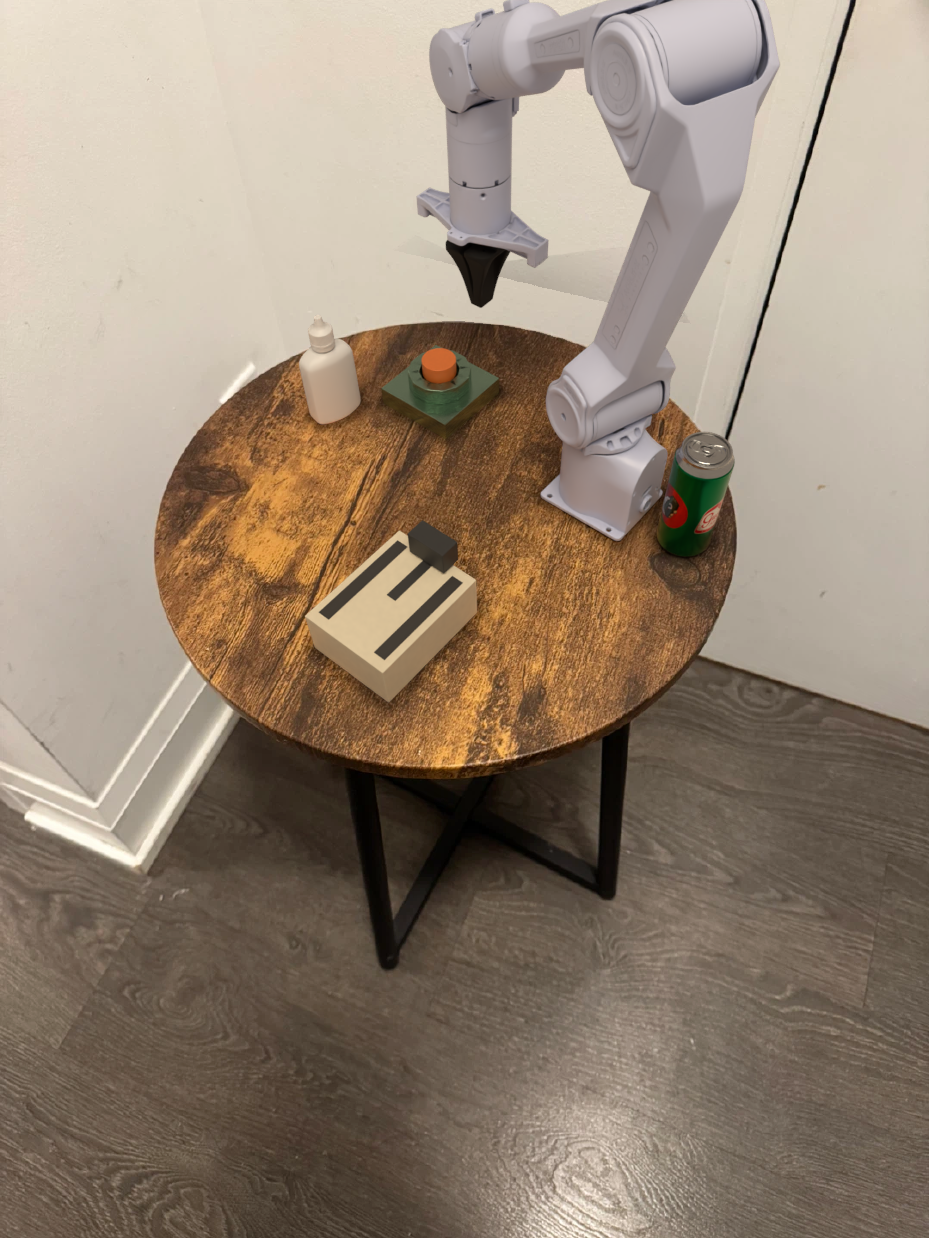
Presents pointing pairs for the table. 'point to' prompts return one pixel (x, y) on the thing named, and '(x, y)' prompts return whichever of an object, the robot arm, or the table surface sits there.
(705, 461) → the soda can
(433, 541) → the block
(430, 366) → the button
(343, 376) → the eye dropper bottle
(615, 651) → the table surface
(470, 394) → the panel
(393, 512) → the table surface
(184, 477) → the table surface
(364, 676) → the toaster
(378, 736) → the table surface
